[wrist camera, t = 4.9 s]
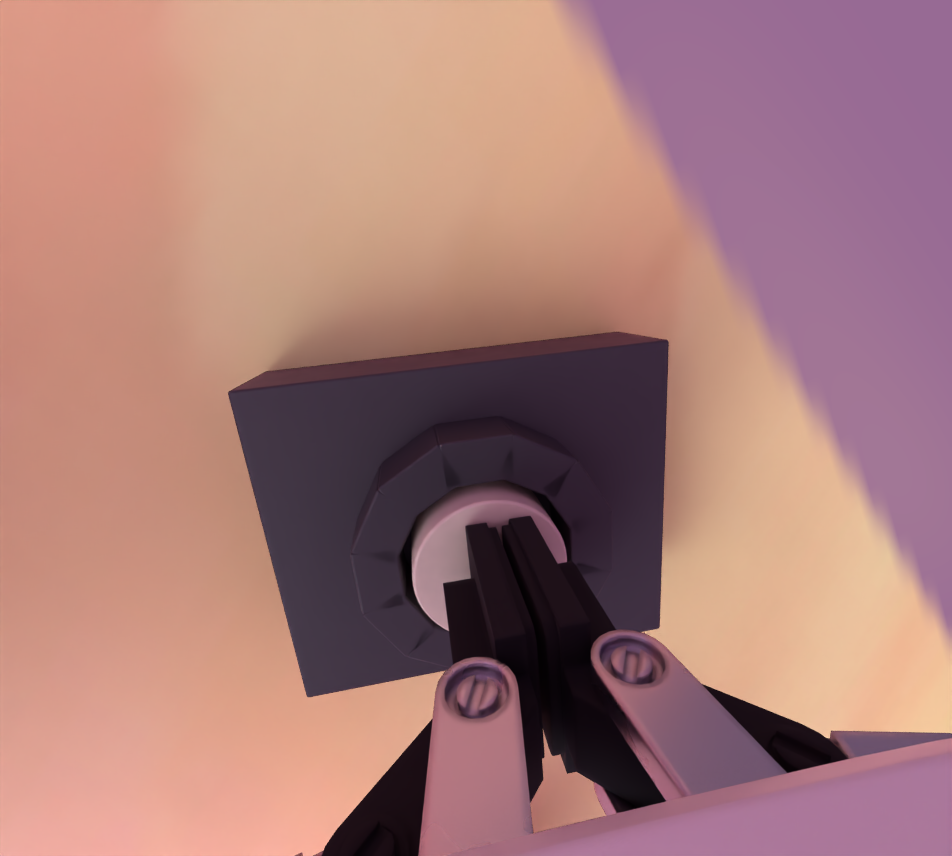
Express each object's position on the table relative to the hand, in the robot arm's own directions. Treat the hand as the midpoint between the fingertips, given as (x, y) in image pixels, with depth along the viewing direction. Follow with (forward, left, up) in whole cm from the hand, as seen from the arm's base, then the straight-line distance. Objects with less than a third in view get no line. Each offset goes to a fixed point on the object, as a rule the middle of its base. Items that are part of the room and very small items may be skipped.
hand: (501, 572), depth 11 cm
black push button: (0, 0, -6) cm, 6 cm away
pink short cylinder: (0, 0, -2) cm, 2 cm away
